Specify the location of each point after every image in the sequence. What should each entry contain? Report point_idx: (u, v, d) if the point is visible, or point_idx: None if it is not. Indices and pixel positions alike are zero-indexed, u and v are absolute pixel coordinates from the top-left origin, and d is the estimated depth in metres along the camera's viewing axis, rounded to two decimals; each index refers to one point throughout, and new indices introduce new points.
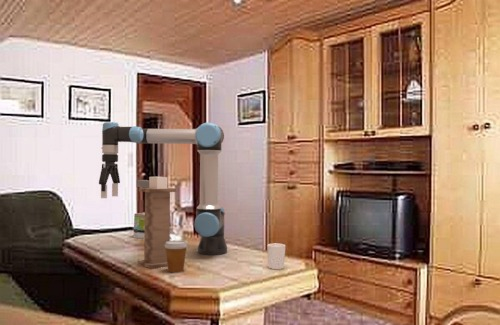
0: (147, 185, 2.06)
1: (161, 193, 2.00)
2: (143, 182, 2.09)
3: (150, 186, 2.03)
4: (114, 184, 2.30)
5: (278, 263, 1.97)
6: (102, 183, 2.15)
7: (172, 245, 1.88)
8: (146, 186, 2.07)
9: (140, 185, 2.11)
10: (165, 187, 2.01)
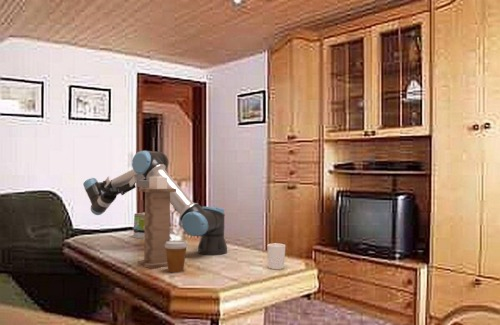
0: (147, 185, 2.06)
1: (161, 193, 2.00)
2: (143, 182, 2.09)
3: (150, 186, 2.03)
4: (130, 184, 2.34)
5: (278, 263, 1.97)
6: (99, 185, 2.25)
7: (172, 245, 1.88)
8: (146, 186, 2.07)
9: (140, 185, 2.11)
10: (165, 187, 2.01)
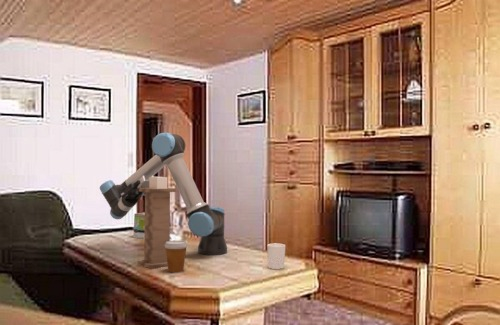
0: (147, 185, 2.06)
1: (161, 193, 2.00)
2: None
3: (150, 186, 2.03)
4: None
5: (278, 263, 1.97)
6: (133, 185, 2.11)
7: (172, 245, 1.88)
8: (146, 186, 2.07)
9: None
10: (165, 187, 2.01)
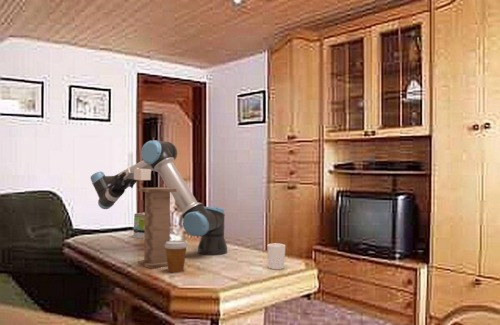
0: (132, 177, 2.17)
1: (161, 193, 2.00)
2: None
3: (134, 177, 2.14)
4: None
5: (278, 263, 1.97)
6: (118, 176, 2.22)
7: (172, 245, 1.88)
8: (131, 177, 2.18)
9: (126, 177, 2.22)
10: (149, 179, 2.12)
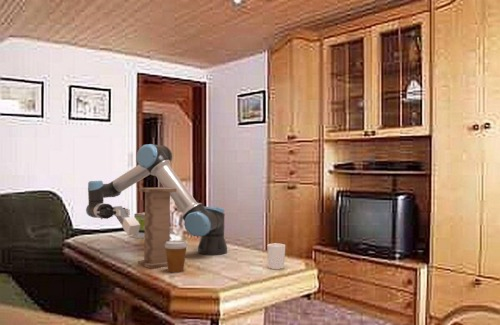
0: (121, 221, 2.14)
1: (161, 193, 2.00)
2: None
3: (123, 226, 2.12)
4: None
5: (278, 263, 1.97)
6: (108, 212, 2.19)
7: (172, 245, 1.88)
8: (120, 221, 2.15)
9: None
10: (136, 233, 2.11)
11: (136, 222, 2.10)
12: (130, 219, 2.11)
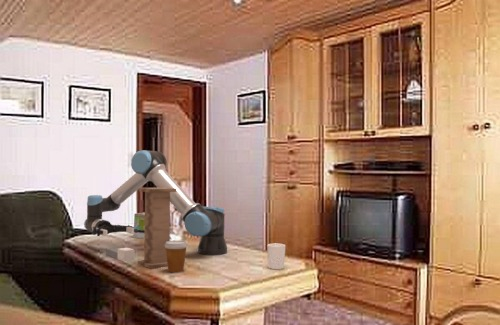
0: (115, 256, 2.16)
1: (161, 193, 2.00)
2: (112, 252, 2.18)
3: (118, 258, 2.13)
4: (126, 229, 2.26)
5: (278, 263, 1.97)
6: (95, 231, 2.17)
7: (172, 245, 1.88)
8: (115, 256, 2.16)
9: (109, 254, 2.21)
10: (132, 259, 2.11)
11: (130, 249, 2.13)
12: (124, 248, 2.13)
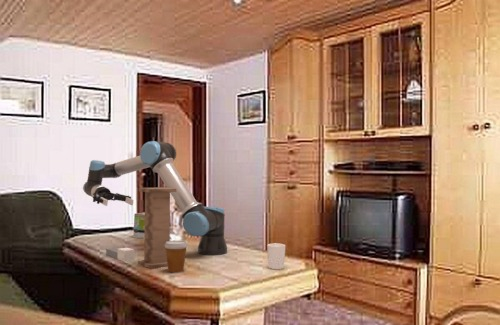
0: (115, 256, 2.16)
1: (161, 193, 2.00)
2: (112, 252, 2.18)
3: (118, 258, 2.13)
4: (126, 200, 2.33)
5: (278, 263, 1.97)
6: (95, 199, 2.23)
7: (172, 245, 1.88)
8: (115, 256, 2.16)
9: (109, 254, 2.21)
10: (132, 259, 2.11)
11: (130, 249, 2.13)
12: (124, 248, 2.13)
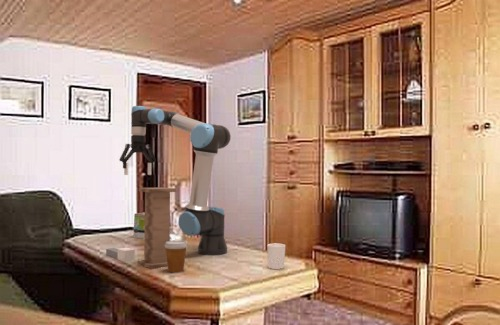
0: (115, 256, 2.16)
1: (161, 193, 2.00)
2: (112, 252, 2.18)
3: (118, 258, 2.13)
4: (148, 163, 2.49)
5: (278, 263, 1.97)
6: (122, 161, 2.38)
7: (172, 245, 1.88)
8: (115, 256, 2.16)
9: (109, 254, 2.21)
10: (132, 259, 2.11)
11: (130, 249, 2.13)
12: (124, 248, 2.13)
